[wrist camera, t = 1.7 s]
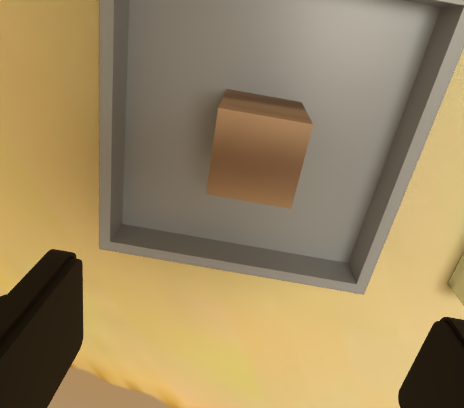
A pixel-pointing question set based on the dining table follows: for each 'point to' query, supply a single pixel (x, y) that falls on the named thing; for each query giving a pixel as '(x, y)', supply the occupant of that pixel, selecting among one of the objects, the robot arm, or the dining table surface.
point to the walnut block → (258, 148)
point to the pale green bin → (458, 280)
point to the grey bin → (279, 86)
